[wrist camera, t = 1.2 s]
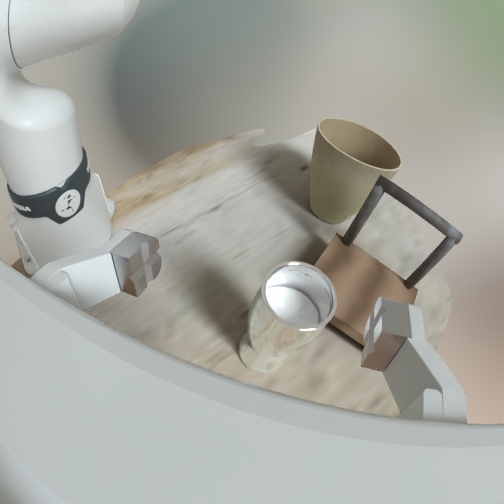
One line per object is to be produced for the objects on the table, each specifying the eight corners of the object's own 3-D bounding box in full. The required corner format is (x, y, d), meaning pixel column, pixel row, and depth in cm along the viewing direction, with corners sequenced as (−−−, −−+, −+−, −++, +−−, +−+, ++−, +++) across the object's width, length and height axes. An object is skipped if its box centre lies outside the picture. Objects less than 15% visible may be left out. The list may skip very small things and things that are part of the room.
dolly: (286, 305, 40) (337, 219, 26) (327, 249, 47) (373, 167, 34) (377, 367, 36) (463, 311, 22) (403, 302, 44) (468, 237, 30)
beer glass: (275, 386, 33) (325, 347, 21) (224, 360, 34) (244, 306, 22) (297, 340, 37) (348, 281, 25) (250, 316, 38) (279, 246, 26)
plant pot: (369, 246, 50) (414, 181, 37) (292, 231, 48) (324, 153, 36) (355, 192, 59) (387, 132, 47) (289, 177, 58) (313, 108, 45)
